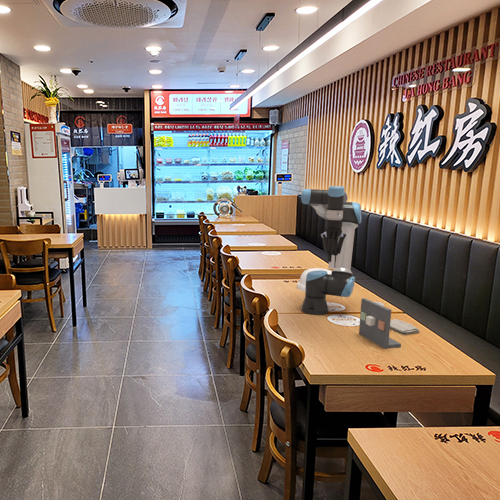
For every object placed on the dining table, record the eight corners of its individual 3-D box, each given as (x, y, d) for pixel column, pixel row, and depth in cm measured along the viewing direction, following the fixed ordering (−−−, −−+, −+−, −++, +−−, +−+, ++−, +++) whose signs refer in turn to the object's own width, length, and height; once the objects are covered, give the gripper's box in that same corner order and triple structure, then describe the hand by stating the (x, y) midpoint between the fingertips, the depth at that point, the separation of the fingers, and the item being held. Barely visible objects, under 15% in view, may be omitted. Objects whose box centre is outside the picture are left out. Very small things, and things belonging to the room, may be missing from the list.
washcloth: (403, 336, 216) (404, 330, 215) (377, 325, 232) (378, 319, 231) (421, 333, 221) (421, 327, 221) (394, 322, 237) (395, 317, 237)
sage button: (360, 318, 213) (360, 311, 213) (366, 318, 214) (367, 311, 214) (364, 321, 210) (365, 313, 209) (370, 320, 211) (371, 313, 211)
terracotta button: (378, 328, 200) (378, 320, 200) (384, 327, 202) (385, 319, 201) (382, 330, 197) (383, 322, 196) (389, 329, 198) (390, 322, 198)
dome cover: (292, 283, 320) (293, 264, 318) (332, 283, 324) (333, 265, 322) (303, 294, 289) (304, 273, 286) (347, 294, 293) (348, 274, 290)
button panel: (358, 333, 216) (361, 298, 213) (374, 332, 219) (377, 297, 216) (384, 348, 197) (387, 310, 195) (400, 346, 200) (404, 308, 198)
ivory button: (365, 323, 206) (366, 316, 206) (371, 322, 207) (372, 315, 207) (370, 325, 203) (370, 318, 202) (376, 325, 204) (377, 317, 203)
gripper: (326, 219, 201) (323, 270, 205) (350, 220, 205) (347, 269, 209) (318, 218, 208) (315, 267, 212) (342, 218, 212) (338, 266, 216)
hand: (331, 268), depth 210 cm, fingers closed
